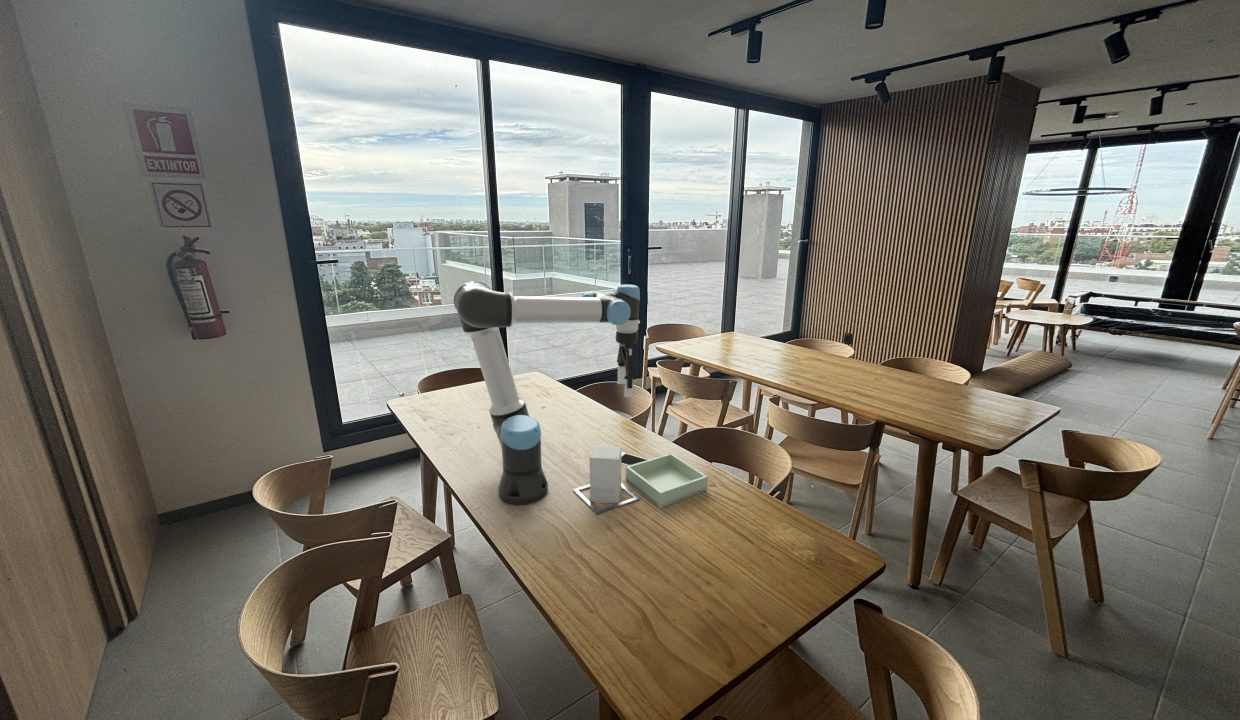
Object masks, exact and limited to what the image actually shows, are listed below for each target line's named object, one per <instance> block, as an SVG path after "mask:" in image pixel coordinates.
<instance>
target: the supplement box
mask: <svg viewBox="0 0 1240 720" xmlns="http://www.w3.org/2000/svg"><path fill="white" fill-rule="evenodd" d="M621 452H622V446H614V445H600V444H599V445H597V444H596V445H595V444H594V445H593V448H592V450H591V453H590V456H589V461H588V462H589V484H590V488H589V501H590V502H591V503H599V504H600V503H603V504H604V503H605V504H617V503H620V497H621V492H622V488H621V483H622V464H621Z"/></svg>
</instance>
